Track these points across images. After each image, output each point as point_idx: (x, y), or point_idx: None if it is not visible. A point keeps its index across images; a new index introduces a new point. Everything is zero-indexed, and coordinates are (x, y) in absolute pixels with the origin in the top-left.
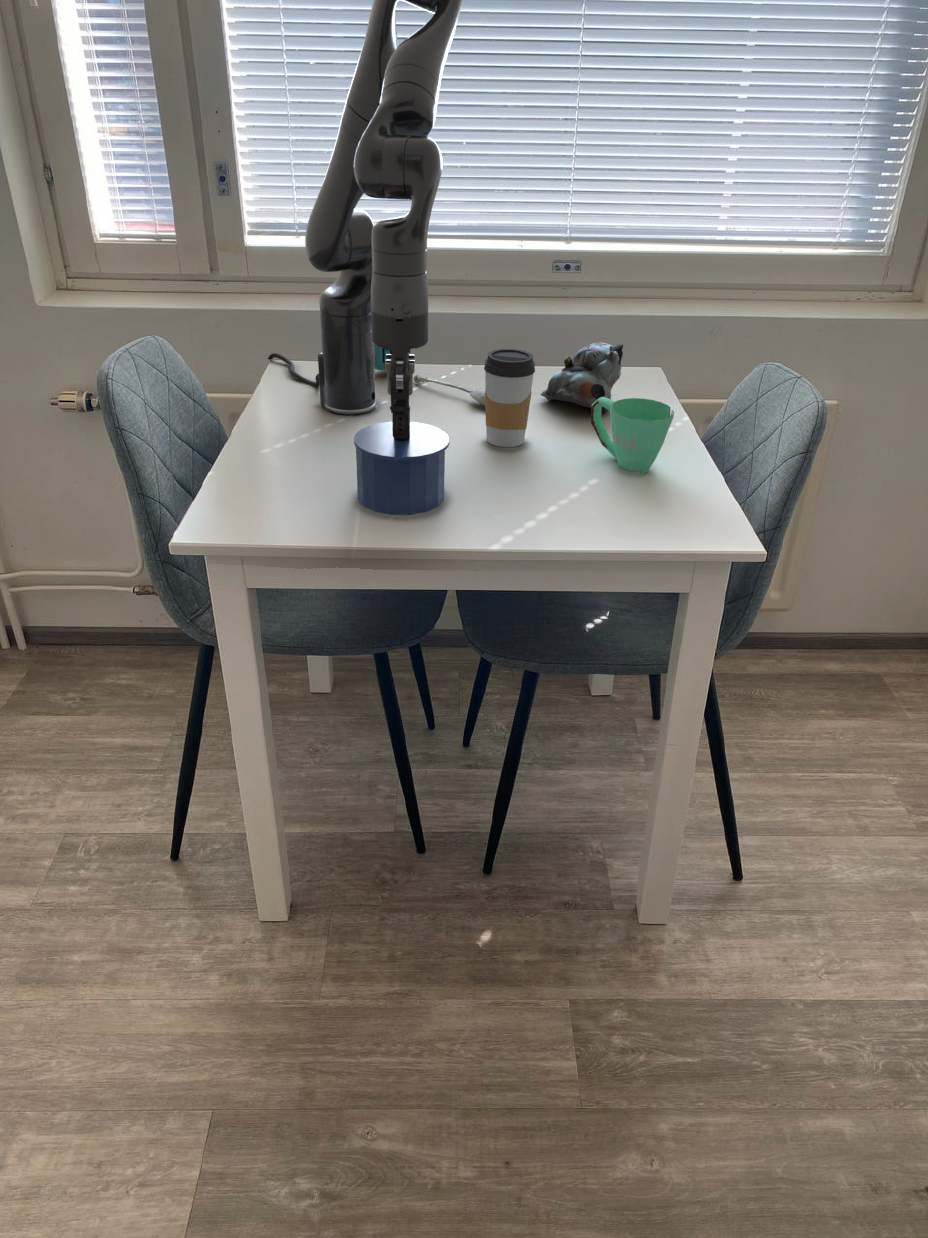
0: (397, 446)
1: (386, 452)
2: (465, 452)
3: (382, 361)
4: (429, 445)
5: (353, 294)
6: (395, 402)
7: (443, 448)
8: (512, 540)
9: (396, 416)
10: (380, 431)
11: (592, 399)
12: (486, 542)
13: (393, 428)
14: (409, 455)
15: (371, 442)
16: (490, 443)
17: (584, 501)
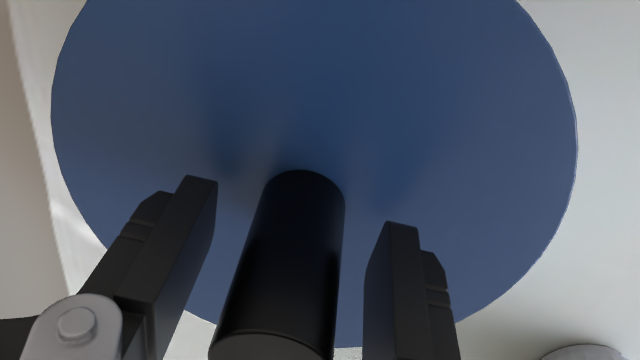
0: (194, 160)
1: (106, 89)
2: (581, 295)
3: None
4: (205, 275)
5: None
6: (388, 352)
7: None
8: (88, 241)
9: (84, 293)
10: (434, 127)
11: None
12: (70, 197)
13: (165, 210)
14: (79, 183)
15: (261, 35)
16: (580, 351)
17: None
